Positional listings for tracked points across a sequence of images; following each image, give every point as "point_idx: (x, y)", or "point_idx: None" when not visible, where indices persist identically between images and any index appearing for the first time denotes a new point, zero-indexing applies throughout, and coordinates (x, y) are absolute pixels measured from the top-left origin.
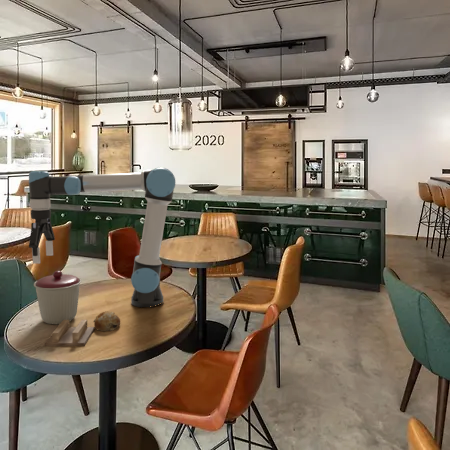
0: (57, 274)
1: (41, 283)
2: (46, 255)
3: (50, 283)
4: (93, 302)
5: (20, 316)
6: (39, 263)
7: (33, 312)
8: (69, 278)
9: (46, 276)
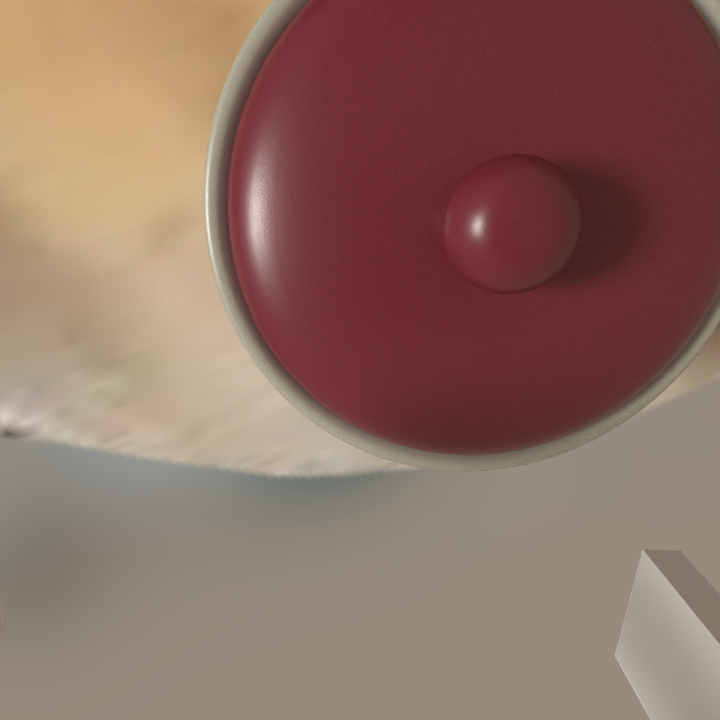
0: (581, 209)
1: (651, 367)
2: (2, 629)
3: (702, 253)
4: (80, 50)
5: (358, 458)
6: (680, 555)
7: (296, 412)
8: (522, 40)
9: (374, 400)
